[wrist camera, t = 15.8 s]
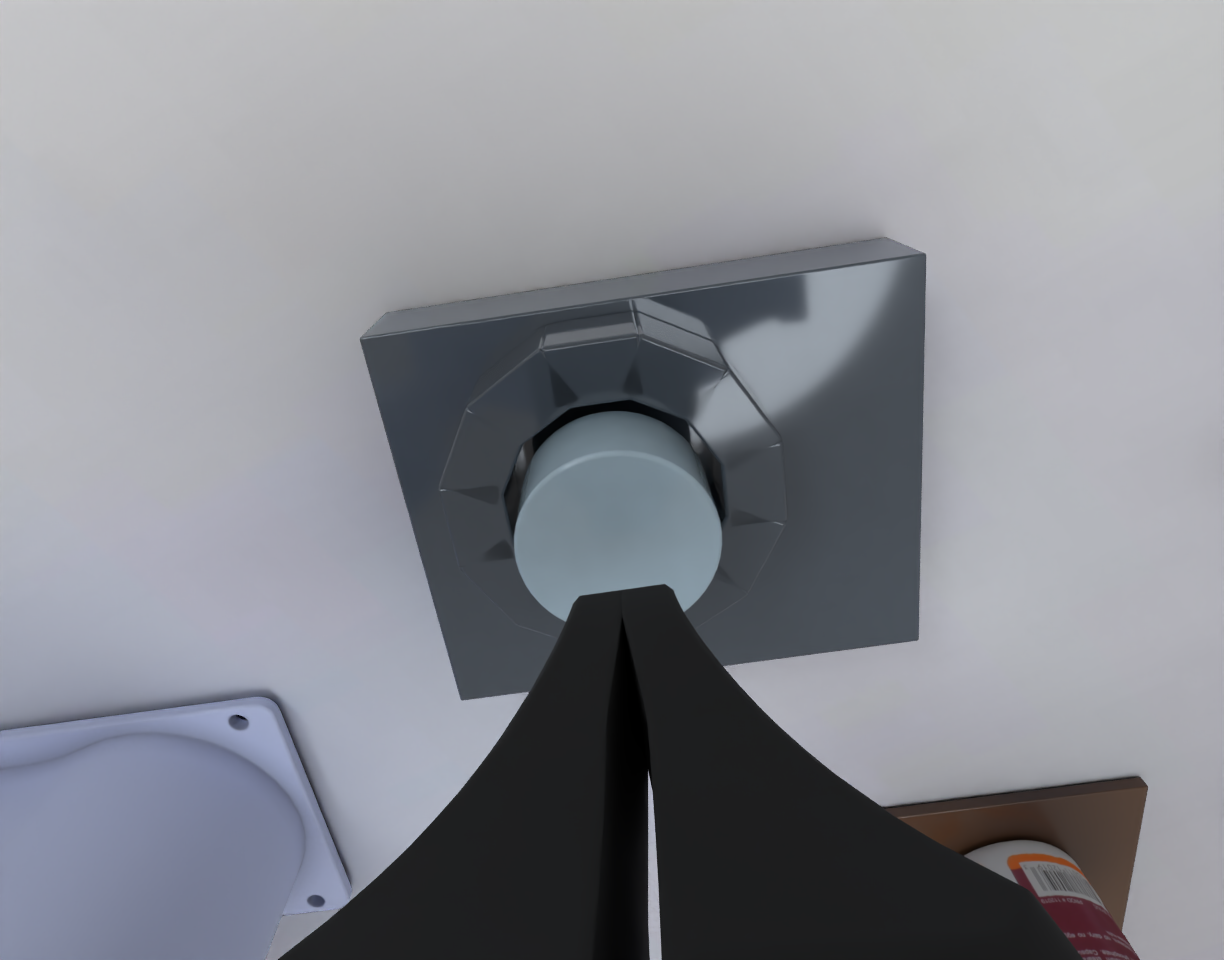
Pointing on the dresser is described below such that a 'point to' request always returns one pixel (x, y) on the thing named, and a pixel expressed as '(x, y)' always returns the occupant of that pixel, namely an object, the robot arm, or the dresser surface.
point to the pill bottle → (1059, 895)
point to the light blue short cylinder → (615, 513)
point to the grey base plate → (699, 411)
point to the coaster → (1050, 828)
